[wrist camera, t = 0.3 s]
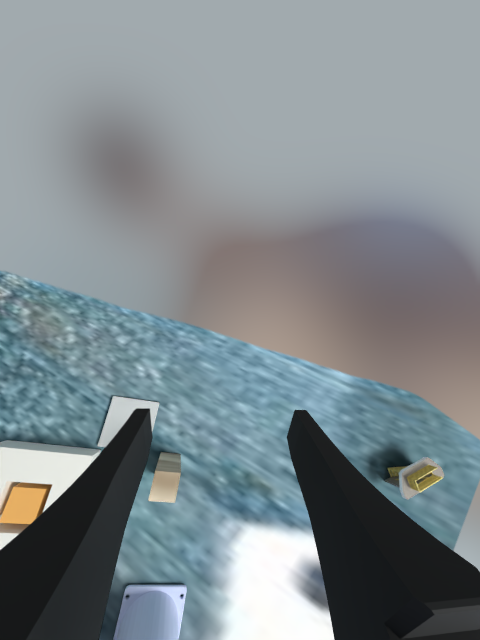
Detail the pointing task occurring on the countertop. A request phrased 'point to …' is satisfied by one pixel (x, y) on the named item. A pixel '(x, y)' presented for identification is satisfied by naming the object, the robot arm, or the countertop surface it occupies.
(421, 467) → the gold pronged connector
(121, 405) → the mat
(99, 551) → the robot arm
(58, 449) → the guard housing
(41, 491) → the button
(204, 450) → the countertop surface
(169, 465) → the wooden square post
